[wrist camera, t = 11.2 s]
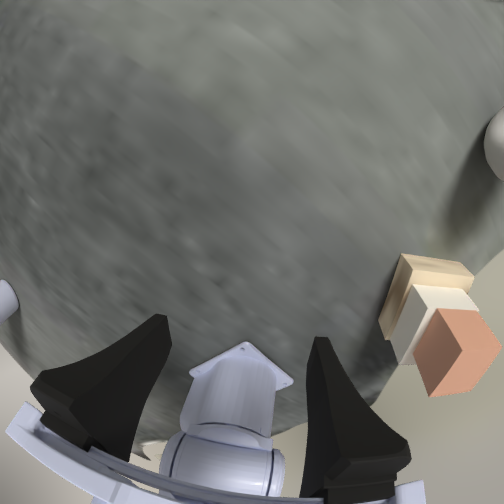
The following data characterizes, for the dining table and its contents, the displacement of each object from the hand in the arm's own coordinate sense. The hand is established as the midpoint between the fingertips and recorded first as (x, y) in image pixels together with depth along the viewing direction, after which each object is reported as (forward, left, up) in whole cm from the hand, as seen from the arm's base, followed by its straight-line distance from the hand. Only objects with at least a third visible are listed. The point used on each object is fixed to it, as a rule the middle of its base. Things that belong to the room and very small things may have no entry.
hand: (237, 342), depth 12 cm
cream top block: (+8, -13, -8) cm, 17 cm away
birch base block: (+9, -12, -11) cm, 19 cm away
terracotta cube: (+9, -12, -4) cm, 16 cm away
